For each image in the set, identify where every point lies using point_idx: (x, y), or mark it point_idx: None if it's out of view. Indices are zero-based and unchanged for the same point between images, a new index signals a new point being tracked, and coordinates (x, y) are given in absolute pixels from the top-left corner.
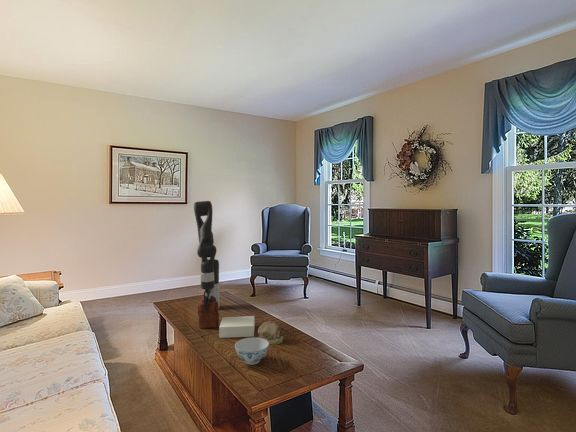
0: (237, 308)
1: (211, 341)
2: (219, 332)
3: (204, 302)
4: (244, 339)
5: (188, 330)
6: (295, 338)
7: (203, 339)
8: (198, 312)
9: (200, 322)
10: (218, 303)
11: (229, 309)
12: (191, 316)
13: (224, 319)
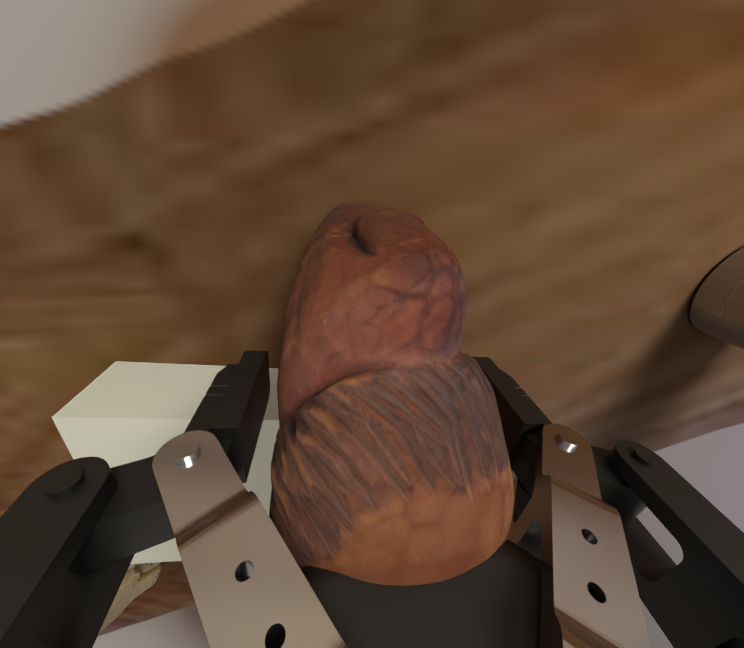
0: (617, 420)
1: (28, 317)
2: (88, 387)
3: (27, 505)
4: None
5: (289, 90)
6: (150, 593)
7: (57, 256)
8: (357, 222)
9: (318, 227)
10: (742, 348)
11: (632, 385)
12: (685, 106)
13: (265, 434)
